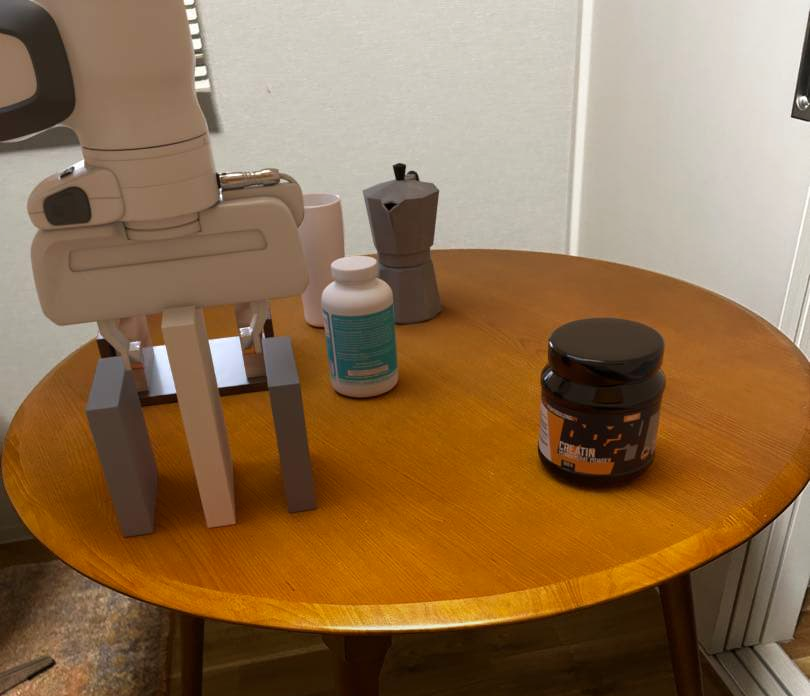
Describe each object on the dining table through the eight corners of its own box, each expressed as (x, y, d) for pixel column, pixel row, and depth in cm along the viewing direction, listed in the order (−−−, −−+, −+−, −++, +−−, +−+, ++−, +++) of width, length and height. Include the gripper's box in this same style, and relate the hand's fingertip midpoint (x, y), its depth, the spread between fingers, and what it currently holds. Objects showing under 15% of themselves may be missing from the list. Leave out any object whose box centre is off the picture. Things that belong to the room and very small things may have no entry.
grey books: (123, 537, 71) (84, 410, 64) (131, 477, 79) (98, 358, 72) (317, 509, 73) (299, 383, 66) (306, 452, 81) (289, 334, 74)
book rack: (115, 409, 91) (76, 271, 82) (125, 357, 102) (92, 231, 93) (282, 388, 93) (261, 251, 84) (273, 339, 104) (255, 214, 95)
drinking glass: (362, 321, 108) (352, 199, 99) (316, 335, 105) (301, 210, 96) (335, 307, 112) (323, 188, 103) (290, 320, 109) (274, 199, 100)
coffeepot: (433, 332, 104) (428, 177, 93) (359, 329, 105) (346, 177, 95) (453, 288, 116) (450, 146, 105) (386, 286, 118) (377, 147, 107)
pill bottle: (412, 382, 93) (406, 259, 85) (363, 407, 88) (352, 280, 80) (366, 365, 97) (356, 246, 89) (317, 387, 93) (302, 265, 85)
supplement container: (514, 468, 77) (518, 345, 70) (574, 423, 83) (583, 305, 76) (617, 506, 71) (633, 376, 64) (674, 454, 78) (693, 330, 71)
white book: (207, 528, 72) (160, 327, 61) (207, 464, 81) (166, 278, 70) (235, 524, 72) (194, 323, 61) (232, 460, 81) (195, 274, 70)
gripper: (295, 156, 64) (317, 328, 72) (18, 185, 62) (73, 360, 70) (302, 174, 59) (325, 357, 67) (1, 207, 57) (63, 393, 65)
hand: (194, 359), depth 69 cm, fingers open, 8 cm apart
